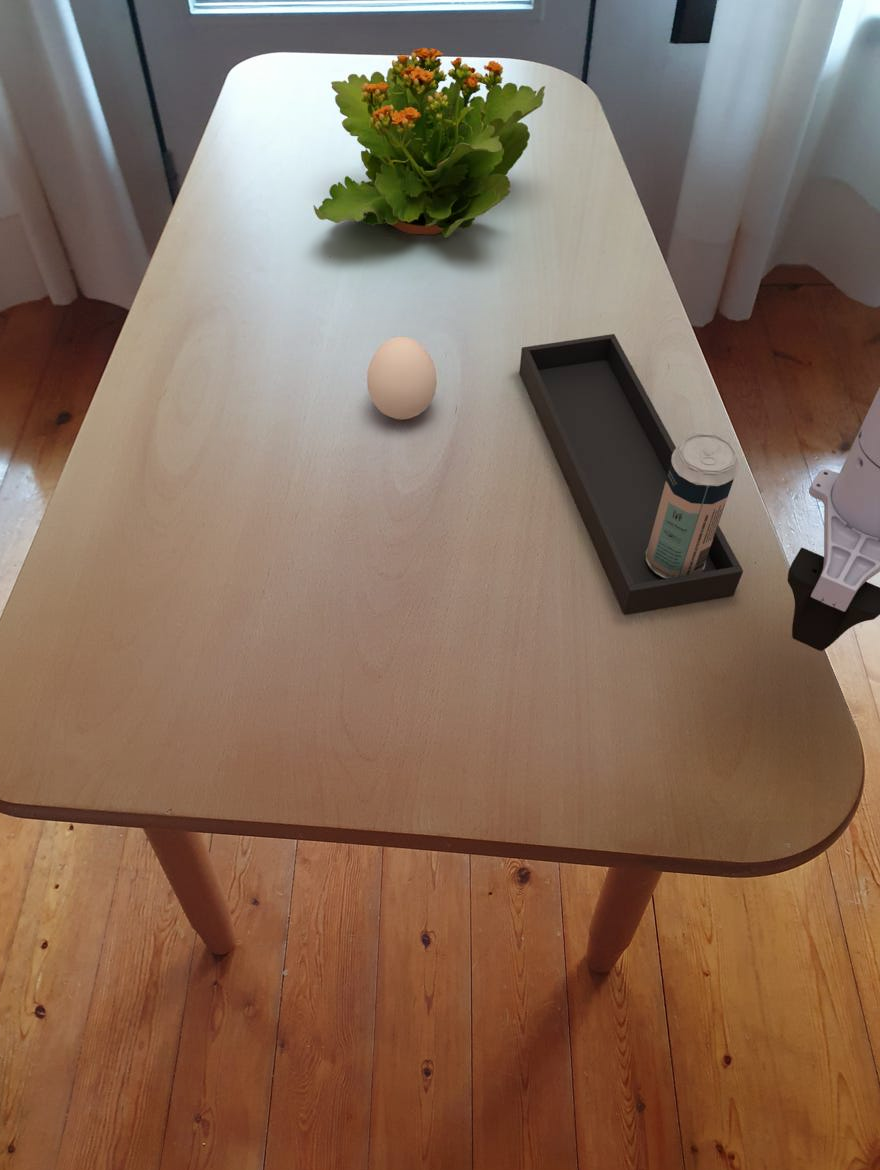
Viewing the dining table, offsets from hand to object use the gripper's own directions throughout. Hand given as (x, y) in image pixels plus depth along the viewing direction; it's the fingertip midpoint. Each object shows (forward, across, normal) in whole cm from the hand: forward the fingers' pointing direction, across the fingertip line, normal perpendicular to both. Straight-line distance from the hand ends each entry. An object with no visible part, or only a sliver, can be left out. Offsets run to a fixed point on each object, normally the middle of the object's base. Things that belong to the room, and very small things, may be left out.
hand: (830, 602), depth 64 cm
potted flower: (+11, -41, -58) cm, 72 cm away
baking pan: (+10, -14, -21) cm, 27 cm away
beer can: (+10, -6, -12) cm, 17 cm away
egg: (+11, -10, -41) cm, 44 cm away
